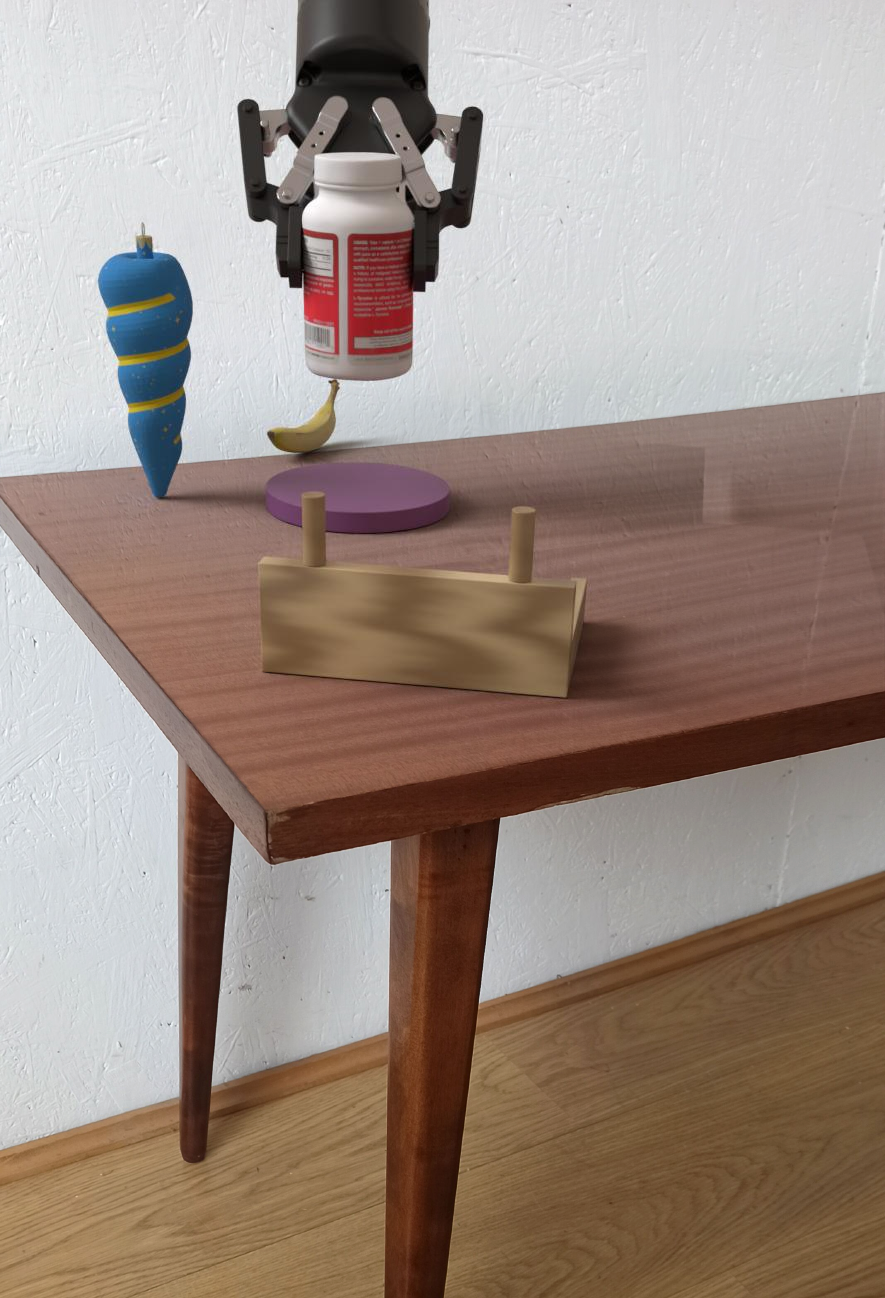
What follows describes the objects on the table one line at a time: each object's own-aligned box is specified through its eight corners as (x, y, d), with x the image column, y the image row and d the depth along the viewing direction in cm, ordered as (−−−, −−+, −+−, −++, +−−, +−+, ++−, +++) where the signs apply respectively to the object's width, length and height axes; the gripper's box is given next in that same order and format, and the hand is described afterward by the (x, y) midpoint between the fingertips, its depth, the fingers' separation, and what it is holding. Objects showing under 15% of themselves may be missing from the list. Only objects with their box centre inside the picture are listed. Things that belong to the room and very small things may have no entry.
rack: (583, 621, 76) (597, 457, 71) (566, 698, 67) (580, 516, 63) (312, 599, 77) (309, 437, 73) (261, 671, 69) (255, 493, 65)
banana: (326, 436, 106) (325, 376, 104) (348, 440, 105) (347, 379, 103) (262, 462, 100) (260, 398, 97) (285, 465, 99) (283, 401, 97)
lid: (461, 488, 96) (462, 468, 95) (433, 539, 86) (434, 518, 86) (290, 476, 97) (290, 456, 96) (245, 525, 88) (244, 504, 87)
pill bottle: (425, 365, 90) (429, 153, 84) (394, 387, 85) (396, 163, 79) (324, 357, 91) (322, 147, 85) (289, 377, 86) (283, 157, 80)
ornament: (110, 507, 90) (85, 227, 82) (123, 484, 94) (100, 216, 86) (198, 509, 90) (182, 230, 82) (207, 485, 94) (192, 218, 86)
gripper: (230, -37, 83) (218, 231, 80) (493, -28, 84) (493, 239, 80) (243, 70, 91) (232, 320, 87) (484, 78, 91) (484, 327, 87)
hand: (357, 280), depth 84 cm, fingers closed on pill bottle, 6 cm apart
